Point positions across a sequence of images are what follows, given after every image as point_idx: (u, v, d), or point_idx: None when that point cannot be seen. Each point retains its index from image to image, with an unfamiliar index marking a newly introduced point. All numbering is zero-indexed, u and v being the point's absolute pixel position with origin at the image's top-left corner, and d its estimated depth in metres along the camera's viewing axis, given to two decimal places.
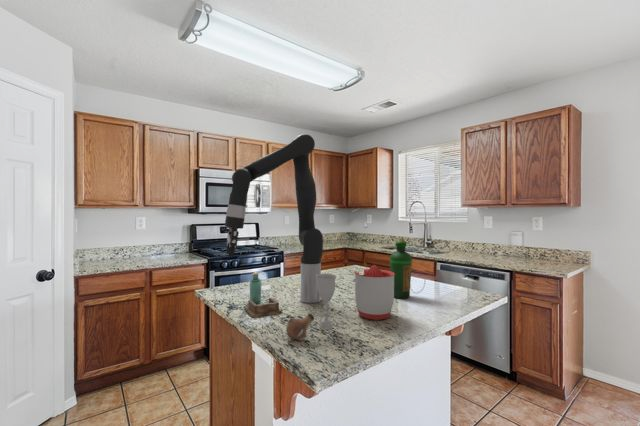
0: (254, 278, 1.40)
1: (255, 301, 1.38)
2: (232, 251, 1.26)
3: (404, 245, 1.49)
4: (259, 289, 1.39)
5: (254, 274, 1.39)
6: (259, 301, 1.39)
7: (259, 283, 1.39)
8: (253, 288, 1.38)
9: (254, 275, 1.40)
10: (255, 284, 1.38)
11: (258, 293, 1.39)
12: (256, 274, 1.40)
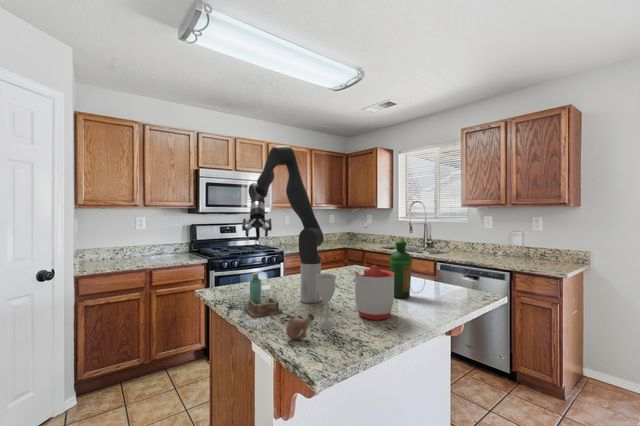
0: (254, 278, 1.40)
1: (255, 301, 1.38)
2: (245, 232, 1.52)
3: (404, 245, 1.49)
4: (259, 289, 1.39)
5: (254, 274, 1.39)
6: (259, 301, 1.39)
7: (259, 283, 1.39)
8: (253, 288, 1.38)
9: (254, 275, 1.39)
10: (255, 284, 1.38)
11: (258, 293, 1.39)
12: (256, 274, 1.40)
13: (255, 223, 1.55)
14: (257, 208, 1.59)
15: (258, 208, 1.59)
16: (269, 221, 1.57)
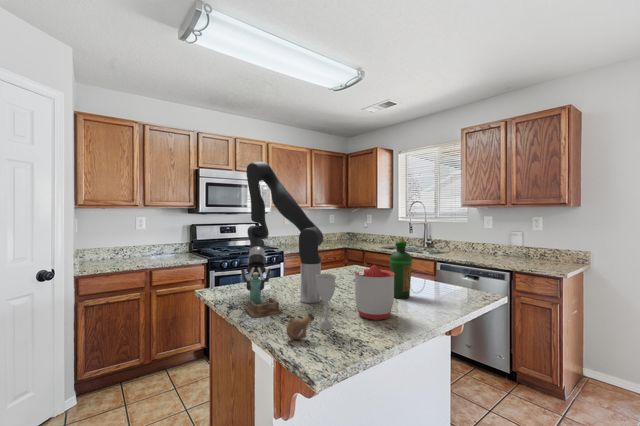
0: (254, 278, 1.40)
1: (255, 301, 1.38)
2: None
3: (404, 245, 1.49)
4: (259, 289, 1.39)
5: (254, 274, 1.39)
6: (259, 301, 1.39)
7: (259, 283, 1.39)
8: (253, 288, 1.38)
9: (254, 275, 1.39)
10: (255, 284, 1.38)
11: (258, 293, 1.39)
12: (256, 274, 1.40)
13: None
14: (257, 255, 1.47)
15: (257, 255, 1.47)
16: (268, 271, 1.45)
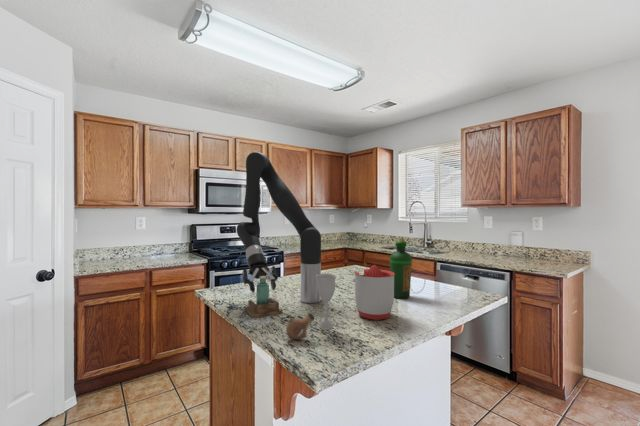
0: (262, 282, 1.27)
1: None
2: (250, 286, 1.25)
3: (404, 245, 1.49)
4: (268, 294, 1.27)
5: (262, 278, 1.27)
6: None
7: (268, 287, 1.27)
8: (262, 293, 1.26)
9: (262, 279, 1.27)
10: (264, 289, 1.26)
11: (267, 298, 1.27)
12: (264, 278, 1.27)
13: (259, 273, 1.30)
14: (258, 254, 1.34)
15: (258, 254, 1.34)
16: (273, 269, 1.34)
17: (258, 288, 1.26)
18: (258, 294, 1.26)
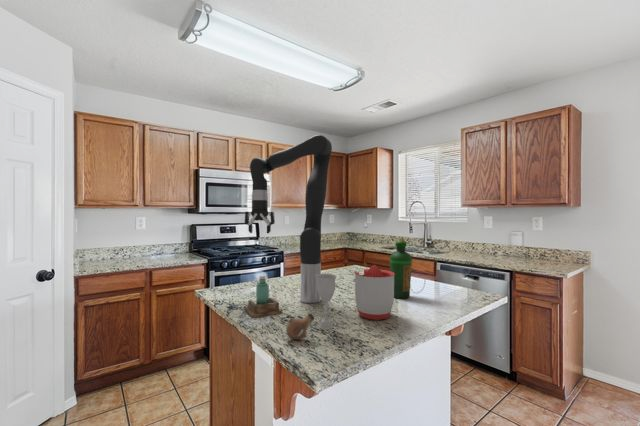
0: (262, 282, 1.27)
1: None
2: None
3: (404, 245, 1.49)
4: (268, 294, 1.27)
5: (262, 278, 1.26)
6: None
7: (268, 287, 1.27)
8: (262, 293, 1.25)
9: (262, 279, 1.27)
10: (264, 289, 1.26)
11: (267, 298, 1.27)
12: (264, 278, 1.27)
13: (257, 218, 1.52)
14: (258, 201, 1.49)
15: (258, 202, 1.49)
16: (271, 215, 1.51)
17: (258, 288, 1.26)
18: (258, 294, 1.26)
